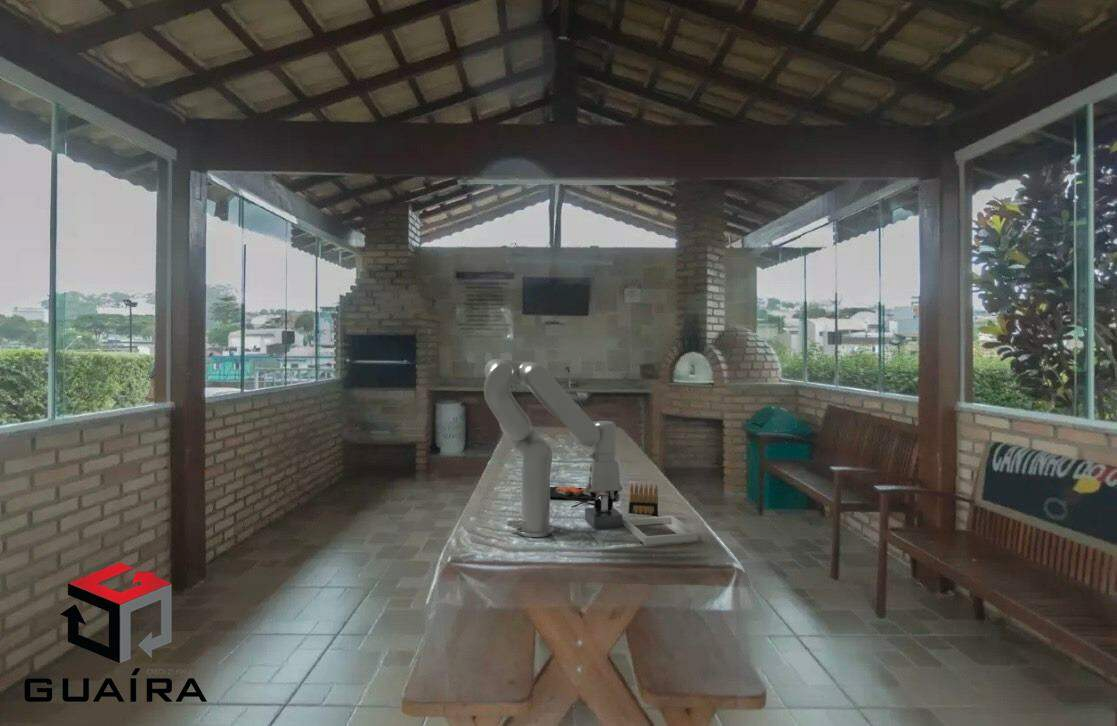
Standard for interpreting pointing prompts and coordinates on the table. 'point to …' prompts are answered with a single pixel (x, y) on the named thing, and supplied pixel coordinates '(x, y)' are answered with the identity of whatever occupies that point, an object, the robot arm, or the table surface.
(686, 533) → the tray
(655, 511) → the ammunition clip
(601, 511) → the pin
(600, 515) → the pin block
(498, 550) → the table surface
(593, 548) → the table surface
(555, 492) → the sushi plate
